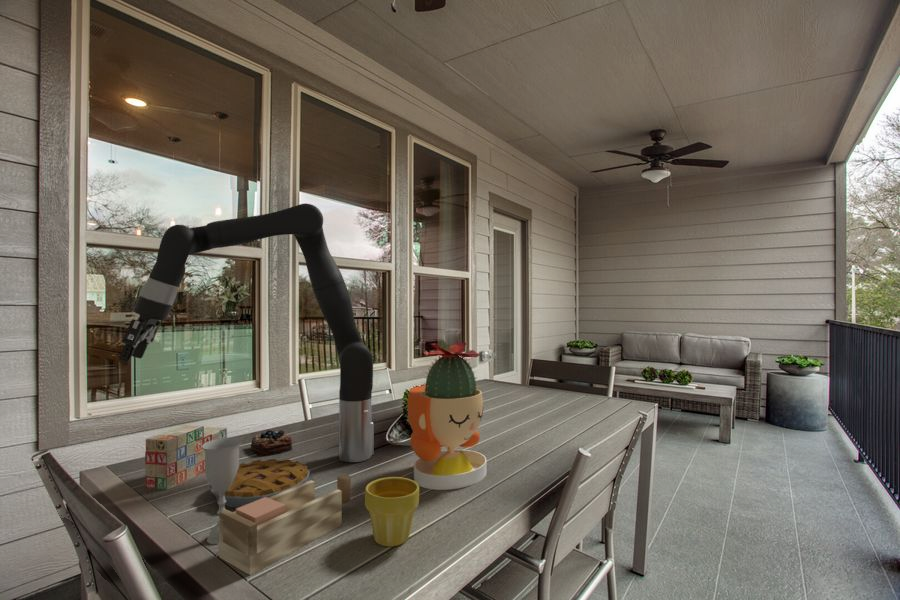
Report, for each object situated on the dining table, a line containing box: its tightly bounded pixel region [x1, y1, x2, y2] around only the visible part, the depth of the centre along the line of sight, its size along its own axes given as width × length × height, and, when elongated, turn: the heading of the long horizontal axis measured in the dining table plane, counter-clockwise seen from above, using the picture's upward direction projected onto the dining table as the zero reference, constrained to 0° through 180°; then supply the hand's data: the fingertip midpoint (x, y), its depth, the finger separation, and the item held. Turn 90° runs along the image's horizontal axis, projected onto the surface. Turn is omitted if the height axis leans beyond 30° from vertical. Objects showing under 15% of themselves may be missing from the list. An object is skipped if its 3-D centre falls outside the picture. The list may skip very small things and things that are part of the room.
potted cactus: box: [407, 341, 488, 491], centre depth 119 cm, size 22×22×35 cm
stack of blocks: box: [144, 424, 228, 491], centre depth 118 cm, size 21×6×12 cm, turn 169°
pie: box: [208, 458, 311, 509], centre depth 107 cm, size 22×22×5 cm
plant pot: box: [364, 476, 420, 547], centre depth 86 cm, size 10×10×10 cm
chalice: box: [202, 437, 243, 545], centre depth 86 cm, size 7×7×18 cm
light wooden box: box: [218, 479, 343, 576], centre depth 84 cm, size 20×9×8 cm, turn 146°
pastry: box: [250, 428, 293, 457], centre depth 137 cm, size 11×12×6 cm
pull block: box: [235, 474, 352, 526], centre depth 88 cm, size 24×6×6 cm, turn 146°
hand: (130, 359), depth 112 cm, fingers open, 8 cm apart
